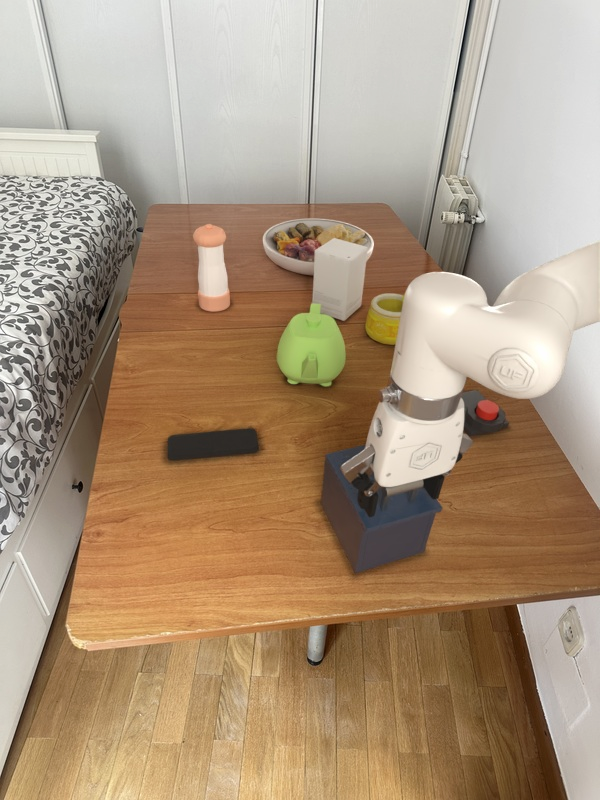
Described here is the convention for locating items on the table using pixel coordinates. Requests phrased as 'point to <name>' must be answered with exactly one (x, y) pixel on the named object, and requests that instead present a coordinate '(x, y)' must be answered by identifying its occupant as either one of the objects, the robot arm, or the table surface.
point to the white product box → (339, 277)
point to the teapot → (311, 349)
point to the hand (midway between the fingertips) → (398, 499)
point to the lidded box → (375, 544)
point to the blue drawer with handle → (384, 496)
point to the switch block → (475, 423)
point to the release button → (487, 410)
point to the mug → (384, 318)
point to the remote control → (212, 444)
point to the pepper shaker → (212, 268)
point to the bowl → (308, 241)
